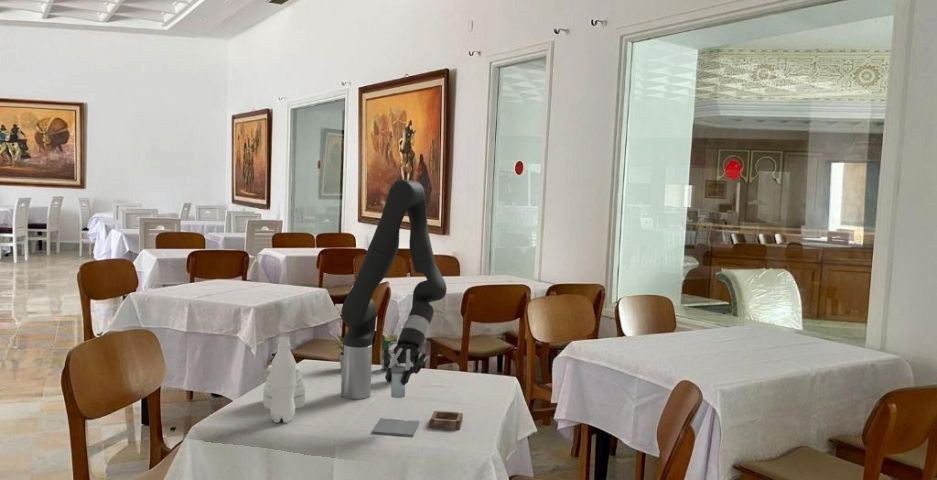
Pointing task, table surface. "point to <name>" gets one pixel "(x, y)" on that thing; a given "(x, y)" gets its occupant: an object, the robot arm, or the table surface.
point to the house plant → (341, 348)
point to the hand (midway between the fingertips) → (395, 382)
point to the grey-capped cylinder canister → (397, 382)
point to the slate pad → (396, 427)
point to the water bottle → (283, 383)
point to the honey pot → (298, 392)
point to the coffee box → (387, 345)
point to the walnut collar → (446, 420)
